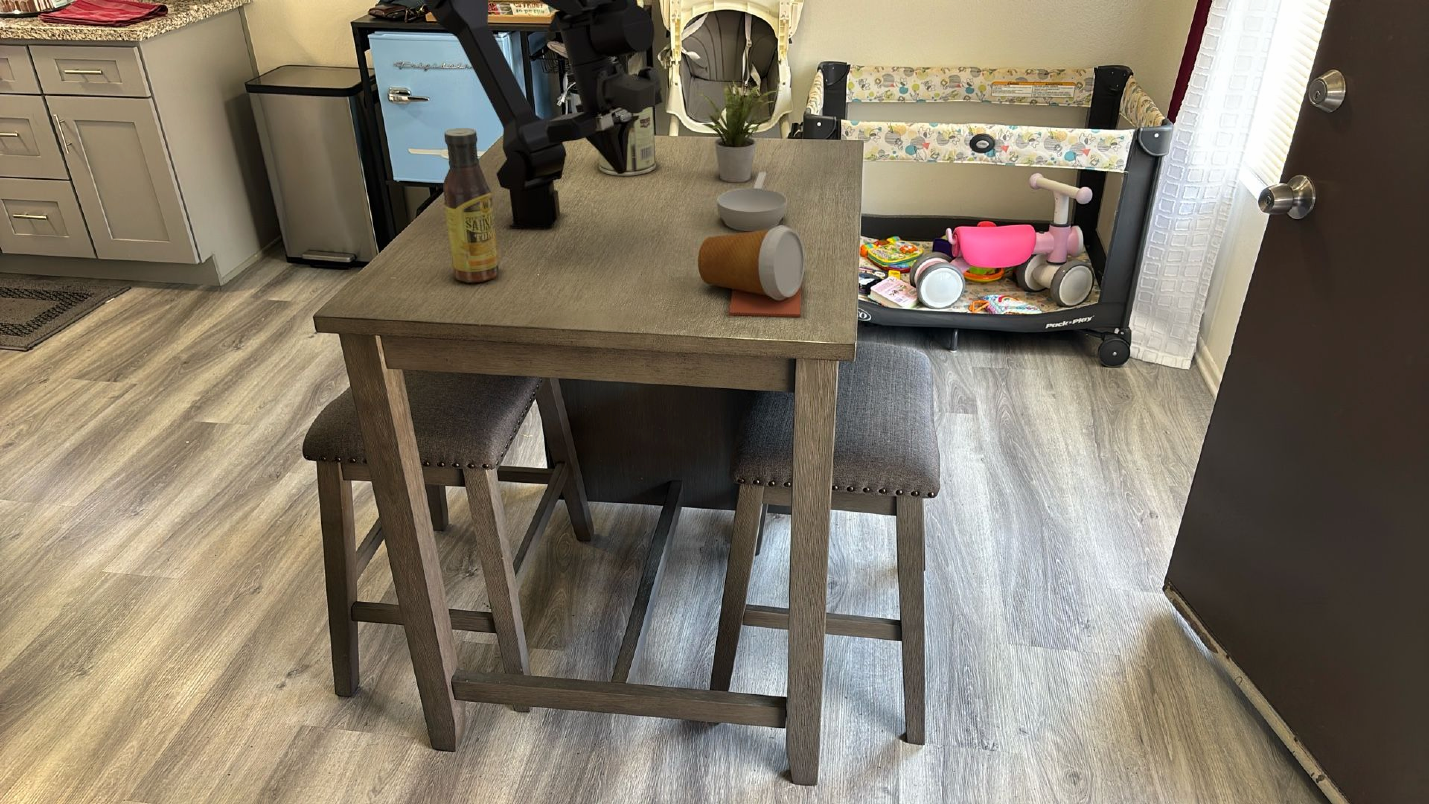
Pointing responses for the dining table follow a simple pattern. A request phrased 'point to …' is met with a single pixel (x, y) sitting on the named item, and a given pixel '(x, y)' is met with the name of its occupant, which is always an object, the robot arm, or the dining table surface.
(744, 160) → the house plant
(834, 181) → the dining table surface
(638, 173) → the coffee can
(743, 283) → the disposable coffee cup
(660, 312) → the dining table surface
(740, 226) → the saucepan
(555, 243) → the dining table surface
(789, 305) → the mat
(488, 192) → the sauce bottle
